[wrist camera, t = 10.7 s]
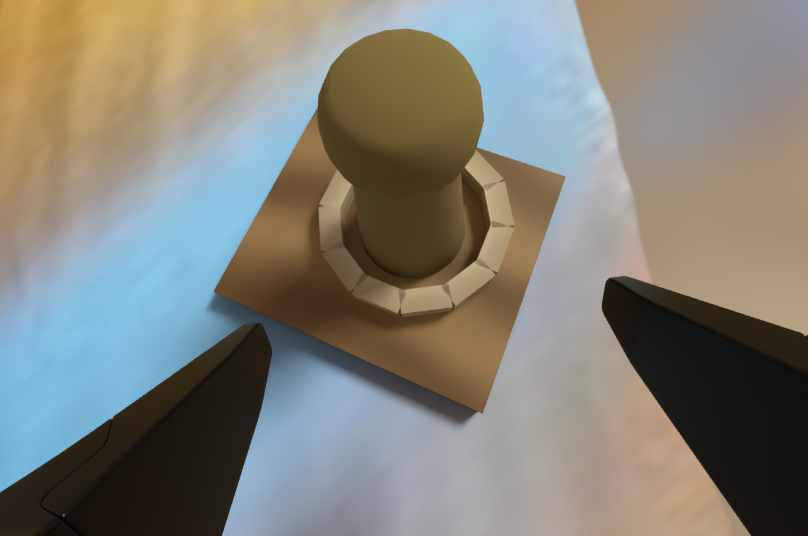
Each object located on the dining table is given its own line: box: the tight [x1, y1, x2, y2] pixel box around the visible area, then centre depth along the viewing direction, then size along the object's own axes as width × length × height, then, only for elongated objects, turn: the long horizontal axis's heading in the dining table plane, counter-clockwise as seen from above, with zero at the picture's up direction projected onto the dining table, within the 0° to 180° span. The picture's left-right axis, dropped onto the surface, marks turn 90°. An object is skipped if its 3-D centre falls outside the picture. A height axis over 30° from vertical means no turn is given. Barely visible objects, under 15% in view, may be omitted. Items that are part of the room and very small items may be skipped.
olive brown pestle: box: [317, 29, 484, 278], centre depth 15 cm, size 6×6×11 cm
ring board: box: [214, 108, 565, 414], centre depth 20 cm, size 14×16×2 cm
